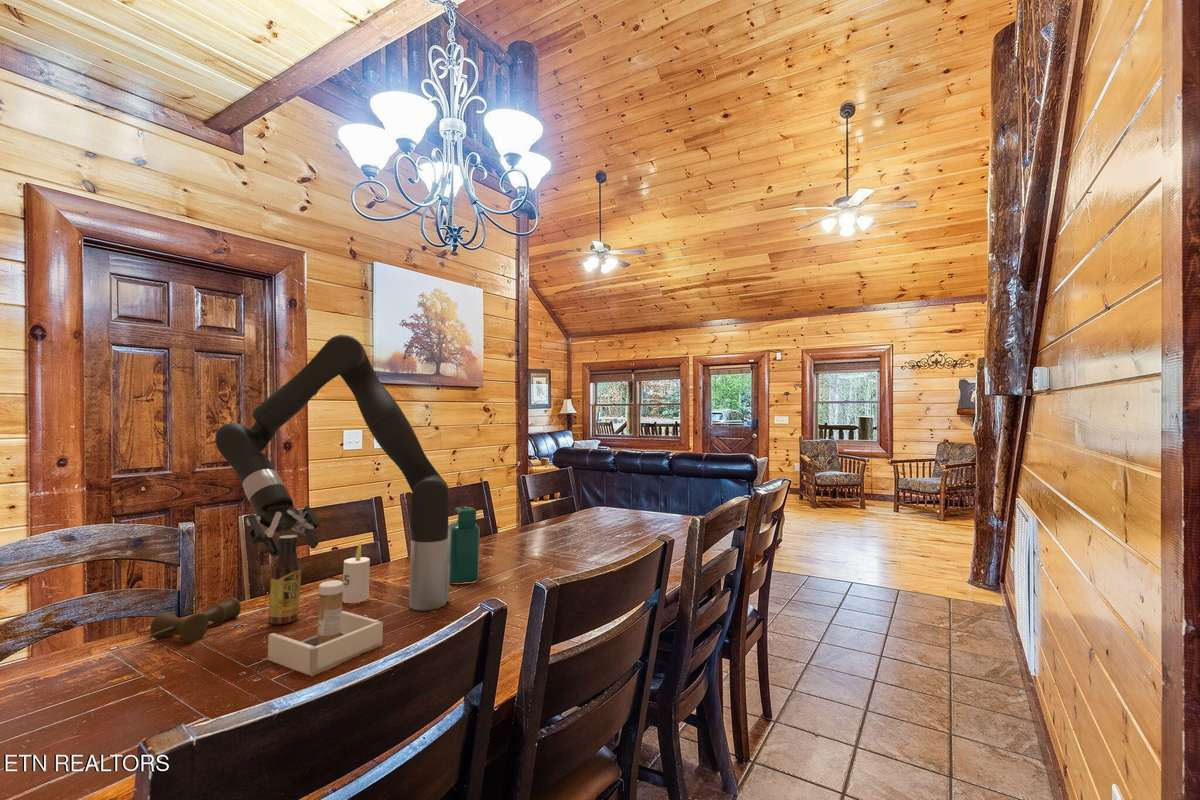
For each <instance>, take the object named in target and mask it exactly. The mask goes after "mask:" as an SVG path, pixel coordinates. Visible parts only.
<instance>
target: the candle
mask: <svg viewBox="0 0 1200 800" xmlns="http://www.w3.org/2000/svg"><path fill="white" fill-rule="evenodd" d="M370 563H371V561H370V558H369V557H366V556H362V543H361V542H359V543H358V545H357V549H356V553H355V557H350V558H347V559H344V561H343V573H342V574H343V580H342V582H343V591H342V592H343V593H342V603H343V602H344V603H343V604H345V603H356V602H361V601H364V600H366V599H368V597H370V594H369V592H370V591H369V590H370V567H371V566H370ZM368 600H369V599H368Z"/></svg>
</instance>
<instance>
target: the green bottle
mask: <svg viewBox="0 0 1200 800" xmlns="http://www.w3.org/2000/svg"><path fill="white" fill-rule="evenodd" d="M455 511H456V512H457V521H455V522H451V523H450V524H448V547H447V565H449V566H450V573H449V582H450V583H463V582H473V581H476V580H478V581H479V571H480V570H479V566H480V537H481V536H480V526H479V525H478V524H477V522H476V521H477V509H475V508H473V507H470V506H461V507H456V508H455ZM450 583H449V584H450Z"/></svg>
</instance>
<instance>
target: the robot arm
mask: <svg viewBox="0 0 1200 800" xmlns="http://www.w3.org/2000/svg"><path fill="white" fill-rule="evenodd" d="M338 376H340V377H341V379H343V381H344V382H345V384H346V386H347V387H348V388H349V390H350V391H351V393H352V395H353V397H354V399H355V400H356V403H357V406H358V408H359V412H360V413H361V415H362V419H363V420H364V422H365V424H366V426H367V428H368V429H369V432H371V435H372V436H373V438H374V439H375V441H376V443H377V444H378V446H379V447H380V448H381V449H382V451H384V453H385V454H386V455H387V456H388V457H389V458H390V459H391V460H392V462H393V463H394V464H395V465H396V466H397V467H398V469H399V470H400V471H401V473H402V474H403V477H404V478H405V480H406V483H407V484H408V486H409V488H410V490H411V500H410V501H411V502H410V503H411V504H410V534H411V535H410V563H409V566H410V567H409V590H408V591H409V593H408V595H409V597H408V598H409V599H408V600H409V601H408V602H409V603H408V607H409V608H410V609H411V608H412V610H415V611H433V610H436V609H440V607H441V608H442V606H443V607H444V606H445V605H446V604H447V603H448V602H449V601H450V599H449V597H450V583H449V573H450V566H449V565H447V547H448V527H449V512H450V511H449V510H450V509H449V507H450V489H449V485H448V484H447V482H446V481H445V479H443V477H442V476H441V474H439V472H438V471H437V470H436V469H435V467H434V465H433V464H432V463H431V462H430V460H429V459H428V457H427V455H426V453H425V451H424V450H423V447H422V445H421V443H420V441H419V438H418V437H417V434H416V433H415V430H414V429H413V427H412V425H411V423H410V422H409V420H408V419H407V417H406V415H405V413H404V412H403V410H402V409H401V407H400V406H399V404H398V403H397V402H396V400H395V398H394V397H393V396H392V395H391V393H390V392H389V391H388V390H387V388H386V387H385V386H384V385H383V383H382V382H381V380H380V378H379V377H378V376H377V374H376V372H375V369H374V368H373V365H372V364H371V361H370V360H369V356H368V354H367V352H366V349H365V348H364V346H363V344H362V343H361V342H360V341H359V340H358V339H357V338H355V337H354V336H352V335H349V334H345V333H343V334H337V335H334V336H333V337H330V338H329V340H328V341H326V343H325V344H324V345H323V346H322V347H321V348H320V350H319V351H318V352H317V353H316V354H315V356H313V358H312V359H311V360H310V361H309V362H308V363H307V364H306V365H305V366H304V367H303V368H302V369H301V370H300V371H299V372H297V373H296V374H295V375H294V376H293V377H292V378H291V379H289V380H288V381H287V382H286V383H284V384H283V385H282V386H281V387H279V388H278V389H277V390H276V391H274V392H273V393H272V394H271V395H270V396H268V397H267V398H265V399H264V400H263V401H262V402H261V403H260V404H258V405H257V406H256V407H255V408H254V409H253V411H252V412H251V413H252V417H253V419H254V421H255V422H254V424H253V425H252V426H251V427H250V428H249V427H247V426H245V425H243V424H240V423H239V422H228V423H226V424H223V425H221V426H219V428H218V429H217V431H216V434H215V437H214V438H215V439H214V441H215V445H216V448H217V451H219V453H220V454H221V456H222V457H223V458H224V459H225V461H226V462H227V463H228V464H229V465H230V466H231V467H232V469H233V470H234V471H235V473H236V474H237V476H238V477H237V478H238V479H239V481H240V483H241V485H242V488H243V490H244V491H243V492H244V494H245V496H246V498H247V500H248V502H249V504H250V506H251V507H252V510H253V512H254V513H255V514H254V513H252V514H251V513H250V514H249V515H248V517H247V518H246V520H245V521H244V526H245V529H246V530H247V533H248V535H249V537H250V540H251V543H252V544H255V545H256V544H258V543H261V544H262V545H264V546H265V549H266V551H267V552H268V554H269V555H270V556H272V557H273V558H278V556H279V554H280V553H281V549H280V547H279V542H278V541H277V539H276V537H275V536H274V534H275V532H276V533H281V532H284V531H286V532H287V531H293V532H295V533H300V534H302V535H303V536H304V538H305V540H306V543H307V544H308V546H309V548H310V549H311V550H313V549H316V548H317V546H318V545H319V542H320V539H319V537H318V536H317V534H316V531H317V529H318V528H319V527H320V526H321V522H320V521H319V519H318V518H317V516H316V515H315V514H314V512H313V510H312V509H311V507H310V506H308V505H306V506H305V507H304V508H302V509H297V508H296V507H295V506H294V502H293V499H292V497H291V495H290V493H289V491H288V490H287V486H285V484H284V482H283V480H282V478H281V477H280V475H279V474H278V473H277V472H276V470H275V468H274V466H273V464H272V462H271V461H270V459H269V458H268V457H267V455H265V454H264V453H263V450H265V448H267V446H268V444H269V443H270V442H271V440H272V439H273V438H274V437H275V435H276V433H277V432H278V430H279V429H280V428H281V427H282V426H283V425H285V424H286V423H287V422H289V421H290V420H291V419H292V418H293V417H295V416H296V415H297V414H298V413H299V412H300V411H302V409H303V408H304V407H305V406H306V405H307V404H308V403H309V401H311V399H312V398H313V396H315V395H316V394H317V393H318V392H319V391H320V390H322V388H323V387H324V386H325V385H327V384H328V383H329V382H331V381H332V380H333V379H335V378H336V377H338ZM297 523H298V525H296V524H297ZM260 524H261V525H262V526H264V527H265V528H266V529H265V531H264V532H263V530H262V528H261V525H260ZM273 536H274V537H273ZM447 601H448V602H447Z"/></svg>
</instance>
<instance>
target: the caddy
mask: <svg viewBox="0 0 1200 800" xmlns="http://www.w3.org/2000/svg"><path fill="white" fill-rule="evenodd" d="M383 624H384V622H383V621H381V620H377V619H374V618H369V617H367V616H363V615H360V614H356V613H352V612H350V611H349V612H348V611H345V610H342V618H341V631H340V637H338V638H335V639H333V640H330V641H327V642H325V643H322V644H320V645H318V634H315V635H313V636H311V637H308V638H305V639H302V640H296V639H294V638H290V637H287V636H284V635H282V634H278V633H275V632H272V633H268V640H267V642H268V643H267V660H268V661H270V662H272V663H276V664H278V665H281V666H283V667H286V668H288V669H291V670H294V671H296V672H299V673H302V674H304V675H307V676H309V675H310V677H314V675H315V676H316V674H317V675H319V674H321V673H323V671H324V672H326V671H328V670H330V669H332V668H335V667H337V666H339V665H342V664H344V663H346V662H348V661H350V660H352V659H351V658H352V657H354V656H357V655H359V654H361V653H364V652H366V653H368V652H371V651H372V650H375V649H378V648H380V647H381V646H383V630H384V628H383V626H384V625H383ZM370 650H371V651H370ZM367 651H368V652H367ZM364 654H365V653H364ZM359 656H360V655H359ZM357 657H358V656H357ZM349 659H350V660H349ZM347 660H348V661H347ZM345 661H346V662H345ZM343 662H344V663H343ZM341 663H342V664H341ZM320 672H321V673H320ZM318 673H319V674H318Z"/></svg>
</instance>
